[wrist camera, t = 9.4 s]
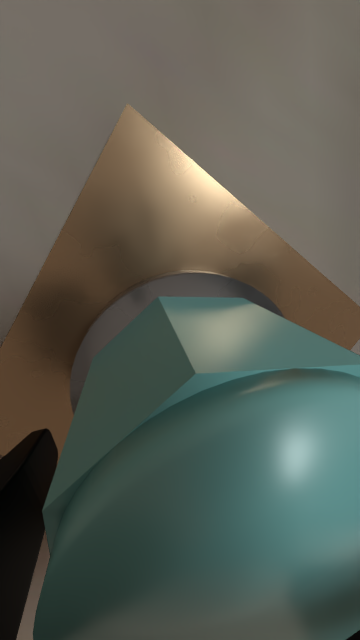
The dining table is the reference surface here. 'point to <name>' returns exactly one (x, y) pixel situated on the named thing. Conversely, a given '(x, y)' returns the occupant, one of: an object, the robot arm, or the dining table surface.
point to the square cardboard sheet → (146, 274)
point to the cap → (208, 484)
